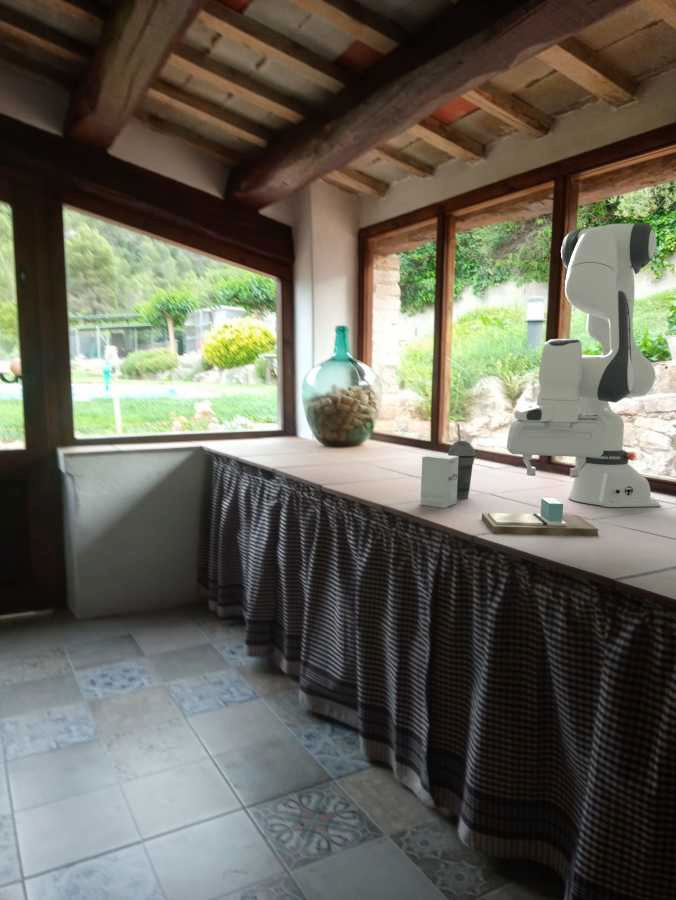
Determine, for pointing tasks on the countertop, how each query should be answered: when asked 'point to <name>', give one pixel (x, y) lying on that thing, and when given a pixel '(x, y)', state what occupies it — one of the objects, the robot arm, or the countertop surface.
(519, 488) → the countertop surface
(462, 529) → the countertop surface
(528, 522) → the board
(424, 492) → the supplement box
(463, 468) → the beverage cup
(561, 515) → the teal and white block
